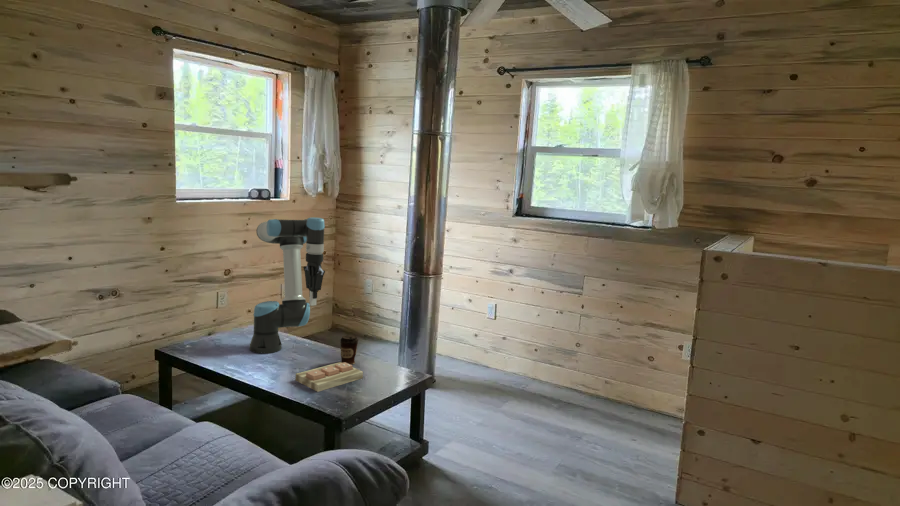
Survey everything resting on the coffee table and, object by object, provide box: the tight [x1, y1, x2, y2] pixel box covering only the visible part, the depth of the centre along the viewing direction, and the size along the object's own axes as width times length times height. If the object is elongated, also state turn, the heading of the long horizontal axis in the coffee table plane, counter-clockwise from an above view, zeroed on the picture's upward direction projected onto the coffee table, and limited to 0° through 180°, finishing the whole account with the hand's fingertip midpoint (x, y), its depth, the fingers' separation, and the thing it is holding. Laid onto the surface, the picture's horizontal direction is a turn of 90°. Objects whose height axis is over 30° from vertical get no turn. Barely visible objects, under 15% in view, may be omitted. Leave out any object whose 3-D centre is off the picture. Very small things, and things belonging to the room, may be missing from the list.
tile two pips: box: [321, 366, 339, 377], centre depth 241 cm, size 6×6×5 cm
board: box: [294, 361, 364, 393], centre depth 242 cm, size 16×24×3 cm, turn 139°
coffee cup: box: [339, 334, 359, 366], centre depth 262 cm, size 9×8×13 cm
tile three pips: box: [335, 362, 354, 373], centre depth 247 cm, size 6×6×5 cm
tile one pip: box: [306, 370, 325, 381], centre depth 236 cm, size 6×6×5 cm
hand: (312, 305), depth 246 cm, fingers closed
